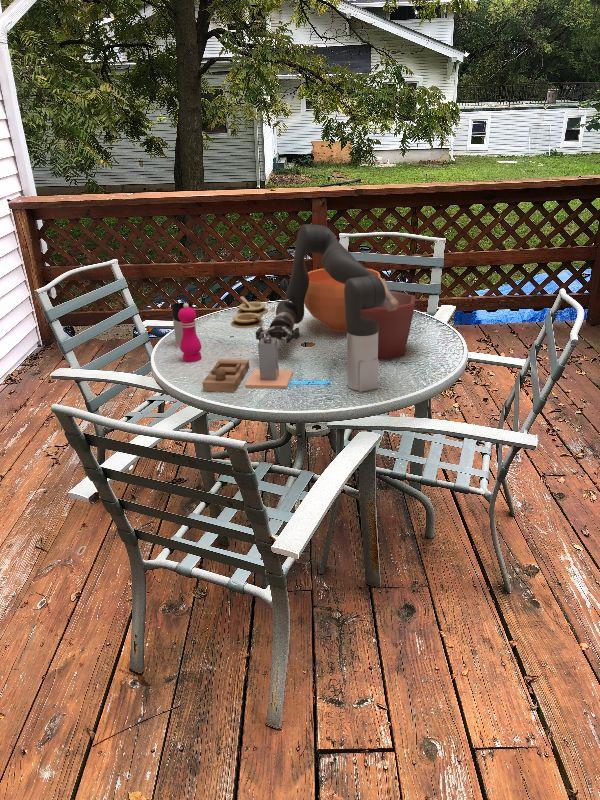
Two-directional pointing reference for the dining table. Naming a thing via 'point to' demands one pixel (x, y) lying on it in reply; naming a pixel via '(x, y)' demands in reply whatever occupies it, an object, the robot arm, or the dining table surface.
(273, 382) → the coaster
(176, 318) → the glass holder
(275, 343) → the grey square grinder
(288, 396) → the dining table surface
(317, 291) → the bowl
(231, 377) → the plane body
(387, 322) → the bucket
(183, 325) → the pepper mill
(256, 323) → the tableware set
